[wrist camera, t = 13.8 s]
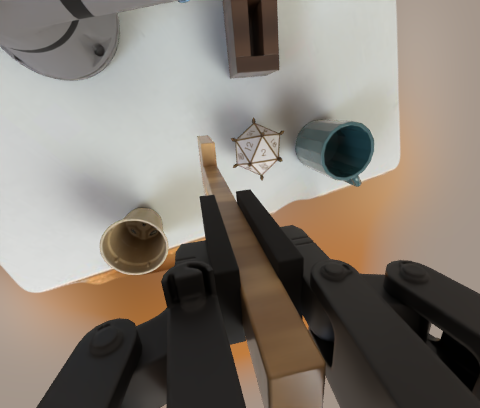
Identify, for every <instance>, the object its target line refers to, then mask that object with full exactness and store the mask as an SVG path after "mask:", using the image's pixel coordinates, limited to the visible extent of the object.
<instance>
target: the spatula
mask: <svg viewBox="0 0 480 408" xmlns="http://www.w3.org/2000/svg"><path fill="white" fill-rule="evenodd" d="M197 139H198V147H199V155H200V164H201V172H202V180H203V187H204V191H205V195H206V196H207V195H215V198H216V201H217V204H218V207H219V210H220V213H221V216H222V219H223V222H224V225H225V228H226V231H227V234H228V237H229V240H230V243H231V246H232V249H233V252H234V255H235V258H236V261H237V264H238V267H239V272H240V283H241V287H240V296H241V309H242V322H243V329H244V332H245V336H246V340H247V344H248V347H249V351H250V355H251V359H252V362H253V366H254V370H255V374H256V378H257V382H258V385H259V389H260V393H261V397H262V400H263V404H264V408H323V395H324V384H325V373H326V362H325V360H324V358H323V357H322V355H321V353H320V351H319V349H318V348H317V346H316V344H315V342H314V340H313V339H312V337H311V335H310V333H309V331H308V330H307V328H306V326H305V324H304V322H303V321H302V319H301V317H300V315H299V313H298V312H297V310H296V308H295V306H294V304H293V303H292V301H291V299H290V297H289V295H288V294H287V292H286V290H285V288H284V286H283V285H282V283H281V281H280V279H279V278H278V276H277V274H276V272H275V271H274V269H273V267H272V265H271V263H270V262H269V260H268V258H267V256H266V254H265V253H264V251H263V249H262V247H261V245H260V244H259V242H258V240H257V238H256V236H255V235H254V233H253V231H252V229H251V227H250V225H249V224H248V222H247V220H246V218H245V216H244V215H243V213H242V211H241V209H240V207H239V206H238V204H237V202H236V200H235V198H234V196H233V195H232V193H231V191H230V189H229V187H228V186H227V184H226V182H225V180H224V178H223V177H222V175H221V173H220V171H219V169H218V168H217V163H216V153H215V143H214V142H213V141H212V140H211V138H210V137H209V136H208V135H206V136H197Z"/></svg>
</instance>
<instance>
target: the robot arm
mask: <svg viewBox="0 0 480 408" xmlns="http://www.w3.org/2000/svg"><path fill="white" fill-rule="evenodd" d="M173 1H178V2H180V3H186V2H188V1H189V0H0V47H1V48H2V49H3V50H4V51H5V52H6V53H8V54H9V55H10V56H11V57H12V58H14V59H15V60H16V61H18V62H19V63H21V64H22V65H24V66H25V67H27V68H29V69H31V70H32V71H34V72H37V73H39V74H42V75H44V76H47V77H51V78H55V79H60V80H69V81H73V80H82V79H86V78H89V77H92V76H94V75H96V74H98V73H99V72H101V71H102V70H103V69H104V68H105V67H106V66H107V65H108V64H109V63H110V61H111V60H112V58H113V56H114V54H115V52H116V50H117V46H118V42H119V35H120V24H119V16H118V12H122V11H127V10H132V9H137V8H142V7H148V6H153V5H158V4H163V3H168V2H173ZM236 196H237V204H238V206H239V207H240V209H241V211H242V213H243V215H244V216H245V218H246V220H247V222H248V224H249V225H250V227H251V229H252V231H253V233H254V235H255V236H256V238H257V240H258V242H259V244H260V245H261V247H262V249H263V251H264V253H265V254H266V256H267V258H268V260H269V262H270V263H271V265H272V267H273V269H274V271H275V272H276V274H277V276H278V278H279V279H280V281H281V283H282V285H283V286H284V288H285V290H286V292H287V294H288V295H289V297H290V299H291V301H292V303H293V304H294V306H295V308H296V310H297V312H298V313H299V315H300V317H301V319H302V315H303V316H304V318H305V320H306V321H307V323H308V325H309V330H308V331H309V333H310V335H311V337H312V339H313V340H314V342H315V344H316V346H317V348H318V349H319V351H320V353H321V355H322V357H323V358H324V360H325V362H326V373H325V375H326V378H327V380H328V382H329V384H330V386H331V388H332V391H333V393H334V395H335V397H336V399H337V402H338V404H339V406H340V408H480V294H479V293H477V292H475V291H473V290H471V289H469V288H468V287H466V286H464V285H462V284H460V283H458V282H456V281H454V280H452V279H450V278H448V277H447V276H445V275H443V274H441V273H439V272H437V271H435V270H433V269H431V268H429V267H427V266H425V265H422V264H420V263H416V262H412V261H402V260H399V261H393V262H391V263H389V264H388V265H387V267H386V273H385V275H376V274H359V273H358V271H357V270H356V269H355V268H353V267H352V266H351V265H349V264H347V263H345V262H342V261H338V260H333V259H330V258H329V257H328V256H327V255H326V254H325V253H324V252H323V251H322V250H321V249H320V248H319V247H318V246H317V245H316V244H315V243H314V242H313V240H311V238H309V237H308V236H307V234H306V233H305V232H304V231H303V230H302V229H300V228H298V227H295V226H293V225H290V226H284V227H279V225H278V224H277V223H276V222H275V220H274V219H273V218H272V217H271V215H270V214H269V213H268V211H267V210H266V209H265V208H264V206H263V205H262V204H261V203H260V201H259V200H258V199H257V198H256V196H255V195H254V194H253V192H252V191H251V190H243V191H236ZM200 203H201V210H202V217H203V224H204V231H205V238H206V240H205V241H199V242H193V243H187V244H181V246H180V247H179V249H178V250H177V251H176V257H175V261H176V262H175V266H174V267H172V268H170V269H169V270H168V271H167V272H166V273H165V274H164V275H163V278H162V281H161V283H162V287H163V291H164V296H165V300H166V304H167V308H166V309H165V310H164V311H163V312H162V313H161V314H159V315H158V316H156V317H155V318H153V319H151V320H149V321H147V322H145V323H143V324H140V325H138V326H136V325H135V323H133V322H132V321H130V320H129V319H120V318H119V319H114V320H110V321H107V322H105V323H102V324H101V325H98V326H96V327H95V328H94V329H92V330H91V331H90V332H88V333H87V334H86V335H85V336H84V337H83V338H82V340H81V341H80V342H79V343H78V345H77V346H76V348H75V349H74V351H73V352H72V354H71V355H70V357H69V358H68V360H67V362H66V363H65V365H64V366H63V368H62V369H61V371H60V372H59V374H58V375H57V377H56V378H55V380H54V381H53V383H52V384H51V386H50V388H49V389H48V391H47V392H46V394H45V396H44V397H43V398H42V400H41V401H40V403H39V404H38V406H37V407H36V408H160V407H162V406H164V405H165V404H167V408H246V406H245V402H244V398H243V394H242V390H241V386H240V382H239V379H238V375H237V371H236V367H235V363H234V359H233V355H232V352H231V348H230V344H235V343H239V342H243V341H246V337H245V332H244V329H243V322H242V309H241V296H240V287H241V283H240V272H239V267H238V264H237V261H236V258H235V255H234V252H233V249H232V246H231V243H230V240H229V237H228V234H227V231H226V228H225V225H224V222H223V219H222V216H221V213H220V210H219V207H218V204H217V201H216V198H215V195H207V196H200ZM431 324H434V325H435V326H437V327H438V328H439V329H441V330H442V331H443V333H442V336H441V339H439V338H435V337H434V336H432V335H430V334H429V331H430V327H431Z"/></svg>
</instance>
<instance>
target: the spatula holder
mask: <svg viewBox="0 0 480 408" xmlns="http://www.w3.org/2000/svg"><path fill="white" fill-rule="evenodd" d="M223 11H224V21H225V32H226V42H227V52H228V62H229V73H230V78H242V77H254V76H266V75H269V74H271V73H273V72H276V71H278V70H279V55H278V54H279V47H278V16H277V0H223Z"/></svg>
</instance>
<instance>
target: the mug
mask: <svg viewBox="0 0 480 408" xmlns="http://www.w3.org/2000/svg"><path fill="white" fill-rule="evenodd" d="M295 149H296V154H297V157H298V159H299V160H300V161H301V163H303V164H304V165H306V166H307V167H309V168H311V169H313V170H315V171H317V172H320V173H322V174H324V175H326V176H328V177H330V178H333V179H335V180H342V181H345V182H347V183H349V184H352V185H354V186H356V187H358V186H360V185H361V180H360V178H359V176H358V175H359V174H360V173H362V172H363V171H364V170H365V168H366V167H367V166H368V164H369V163H370V161H371V158H372V155H373V152H374V139H373V136H372V134H371V132H370V130H369V129H368V128H367V127H366V126H364V125H363V124H362V123H358V122H353V121H339V120H323V119H321V120H315V121H312V122H310V123H308V124H307V125H306V126H304V127H303V128H302V130H301V131H300V133H299V134H298V137H297V140H296V145H295Z"/></svg>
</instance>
